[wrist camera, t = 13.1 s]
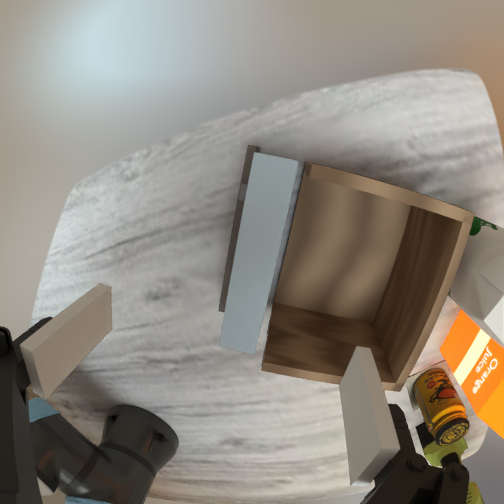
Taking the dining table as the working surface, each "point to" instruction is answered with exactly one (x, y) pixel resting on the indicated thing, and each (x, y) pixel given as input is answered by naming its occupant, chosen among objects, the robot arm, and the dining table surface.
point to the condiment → (438, 404)
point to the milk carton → (482, 279)
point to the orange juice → (477, 369)
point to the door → (257, 249)
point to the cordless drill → (446, 458)
